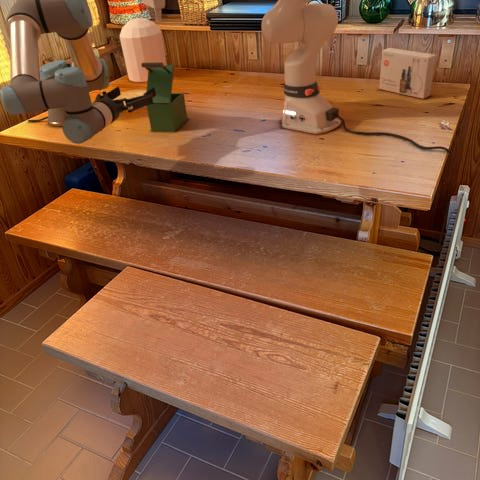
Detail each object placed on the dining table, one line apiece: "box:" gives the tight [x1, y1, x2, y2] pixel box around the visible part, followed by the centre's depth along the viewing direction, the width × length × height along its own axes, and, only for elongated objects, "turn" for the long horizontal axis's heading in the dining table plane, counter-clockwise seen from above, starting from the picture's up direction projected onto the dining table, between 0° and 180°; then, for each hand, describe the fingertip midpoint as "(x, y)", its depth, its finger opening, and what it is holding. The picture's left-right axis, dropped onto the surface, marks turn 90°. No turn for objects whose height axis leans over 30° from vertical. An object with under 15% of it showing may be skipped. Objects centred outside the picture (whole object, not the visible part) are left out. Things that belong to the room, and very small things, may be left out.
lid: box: [141, 62, 175, 104], centre depth 166 cm, size 14×10×8 cm
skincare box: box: [378, 47, 437, 100], centre depth 184 cm, size 21×6×16 cm, turn 40°
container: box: [119, 17, 168, 83], centre depth 235 cm, size 21×21×28 cm
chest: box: [146, 92, 188, 133], centre depth 178 cm, size 13×10×10 cm
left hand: (136, 91), depth 156 cm, fingers open, 13 cm apart
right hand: (155, 20), depth 162 cm, fingers open, 8 cm apart
